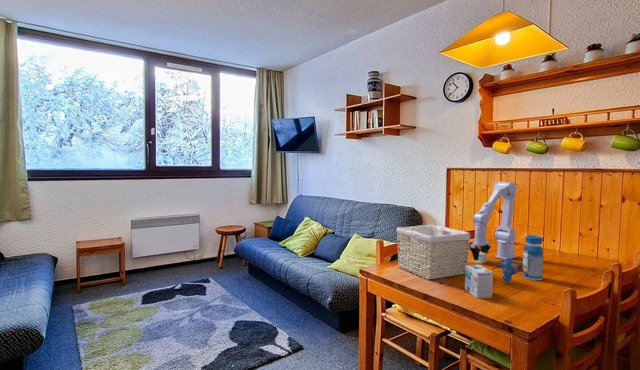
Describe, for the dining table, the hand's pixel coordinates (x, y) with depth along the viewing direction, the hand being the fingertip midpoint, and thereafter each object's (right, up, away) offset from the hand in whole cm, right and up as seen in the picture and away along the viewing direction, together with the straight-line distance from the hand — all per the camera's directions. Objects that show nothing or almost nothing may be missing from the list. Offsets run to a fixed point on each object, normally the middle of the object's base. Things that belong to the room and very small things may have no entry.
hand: (479, 259), depth 196 cm
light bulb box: (-22, -5, -47) cm, 53 cm away
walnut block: (+12, -3, -10) cm, 16 cm away
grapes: (-3, -4, -35) cm, 36 cm away
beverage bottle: (+13, -3, -27) cm, 30 cm away
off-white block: (0, -2, 0) cm, 2 cm away
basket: (-32, -3, -15) cm, 35 cm away
